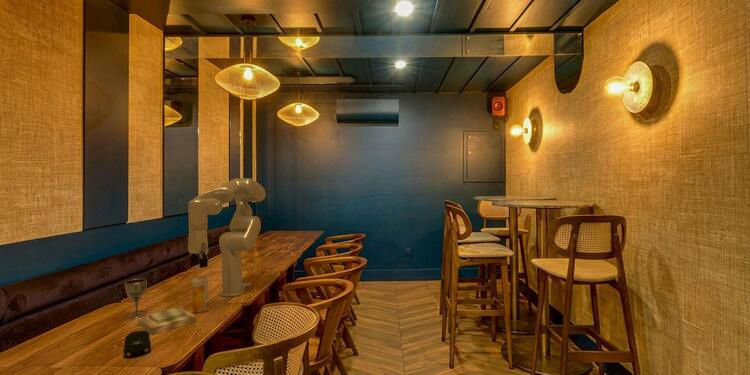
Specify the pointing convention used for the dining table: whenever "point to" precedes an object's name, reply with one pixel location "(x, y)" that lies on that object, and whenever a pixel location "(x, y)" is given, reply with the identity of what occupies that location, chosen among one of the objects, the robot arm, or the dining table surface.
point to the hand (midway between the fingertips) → (198, 265)
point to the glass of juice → (200, 294)
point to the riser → (166, 320)
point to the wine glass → (136, 294)
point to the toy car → (137, 343)
